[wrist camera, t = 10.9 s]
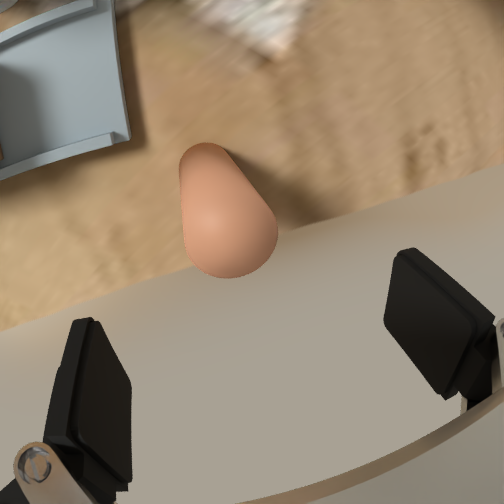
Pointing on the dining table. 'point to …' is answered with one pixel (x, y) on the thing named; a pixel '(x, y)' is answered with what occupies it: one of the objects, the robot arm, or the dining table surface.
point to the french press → (6, 4)
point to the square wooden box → (1, 153)
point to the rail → (60, 86)
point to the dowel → (223, 215)
